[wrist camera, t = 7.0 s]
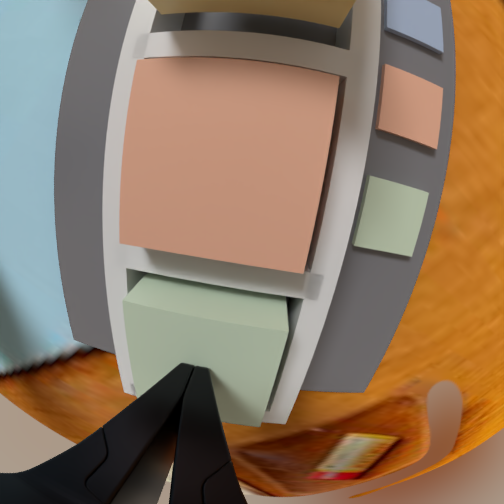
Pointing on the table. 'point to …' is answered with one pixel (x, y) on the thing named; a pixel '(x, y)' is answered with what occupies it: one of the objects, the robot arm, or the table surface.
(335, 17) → the key ochre
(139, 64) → the key terracotta
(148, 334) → the key sage
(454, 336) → the table surface
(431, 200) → the keypad base
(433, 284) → the table surface
